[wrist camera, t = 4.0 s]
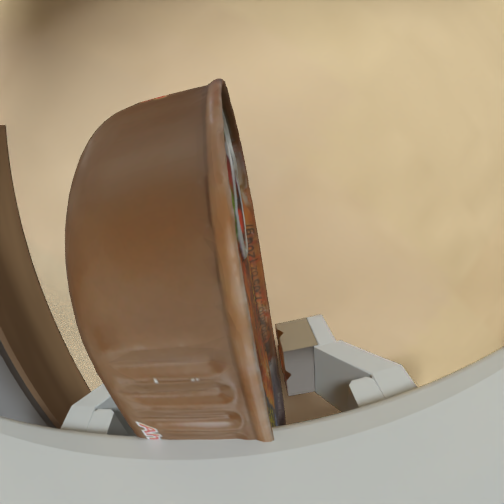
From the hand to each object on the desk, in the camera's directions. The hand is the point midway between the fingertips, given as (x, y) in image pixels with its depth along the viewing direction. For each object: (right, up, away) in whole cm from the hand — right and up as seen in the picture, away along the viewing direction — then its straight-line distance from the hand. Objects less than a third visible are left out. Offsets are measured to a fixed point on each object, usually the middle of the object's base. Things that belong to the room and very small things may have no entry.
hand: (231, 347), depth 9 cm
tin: (0, +1, +3) cm, 3 cm away
